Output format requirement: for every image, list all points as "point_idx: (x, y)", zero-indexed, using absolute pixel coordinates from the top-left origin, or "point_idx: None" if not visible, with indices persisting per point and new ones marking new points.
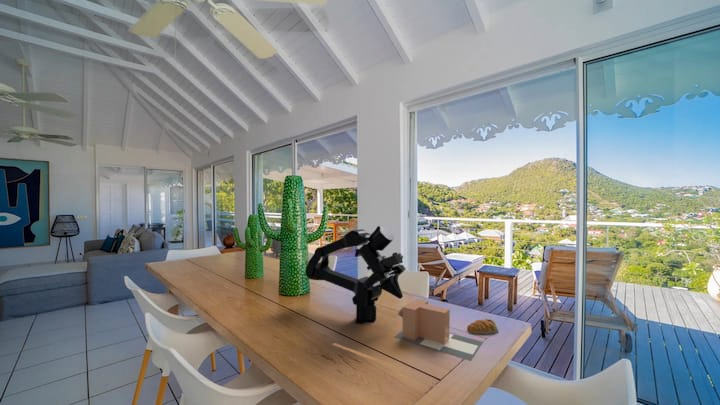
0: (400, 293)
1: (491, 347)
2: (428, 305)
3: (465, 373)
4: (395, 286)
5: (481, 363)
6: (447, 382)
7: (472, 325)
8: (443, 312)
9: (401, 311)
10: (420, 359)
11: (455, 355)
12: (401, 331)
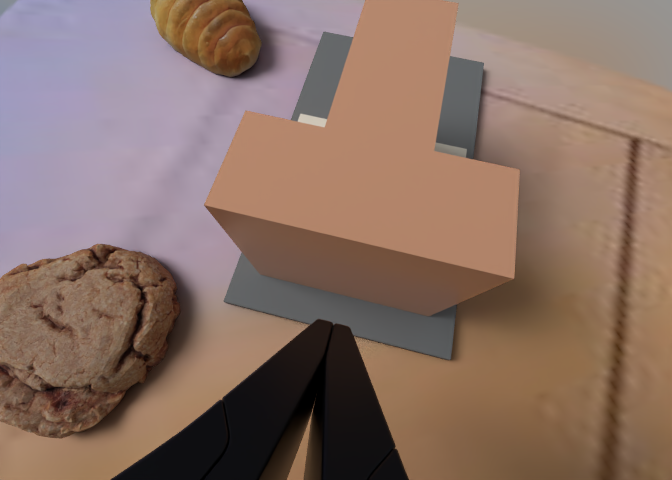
0: (335, 347)
1: (339, 20)
2: (357, 96)
3: (550, 82)
4: (364, 471)
5: (464, 47)
6: (633, 121)
7: (227, 36)
8: (451, 10)
9: (66, 412)
10: (558, 209)
11: (477, 101)
12: (365, 337)
